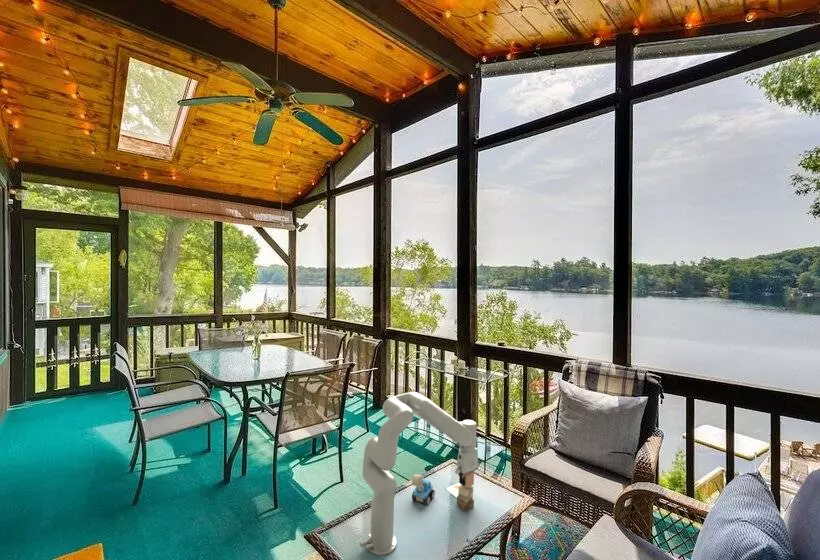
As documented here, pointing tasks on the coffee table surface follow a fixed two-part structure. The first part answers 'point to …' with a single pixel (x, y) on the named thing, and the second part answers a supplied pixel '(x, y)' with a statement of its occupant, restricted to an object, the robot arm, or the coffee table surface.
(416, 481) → the toy excavator
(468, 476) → the terracotta block
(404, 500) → the coffee table surface
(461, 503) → the walnut base block
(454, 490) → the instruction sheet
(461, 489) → the maple block
